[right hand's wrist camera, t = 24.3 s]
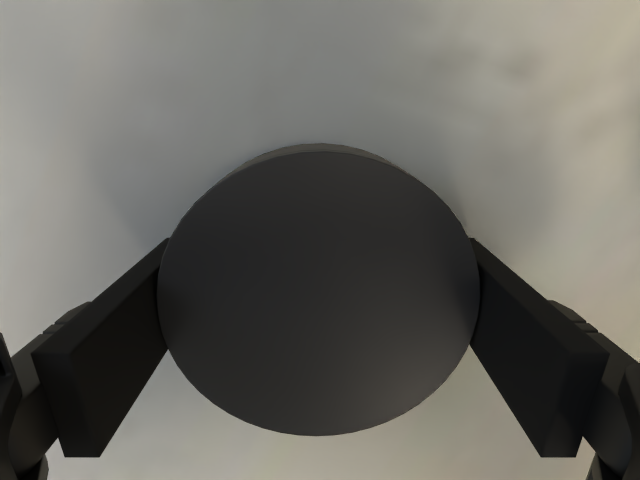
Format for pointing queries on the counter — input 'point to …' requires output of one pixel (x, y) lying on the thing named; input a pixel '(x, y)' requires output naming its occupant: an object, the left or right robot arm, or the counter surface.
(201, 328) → the lid
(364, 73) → the counter surface
